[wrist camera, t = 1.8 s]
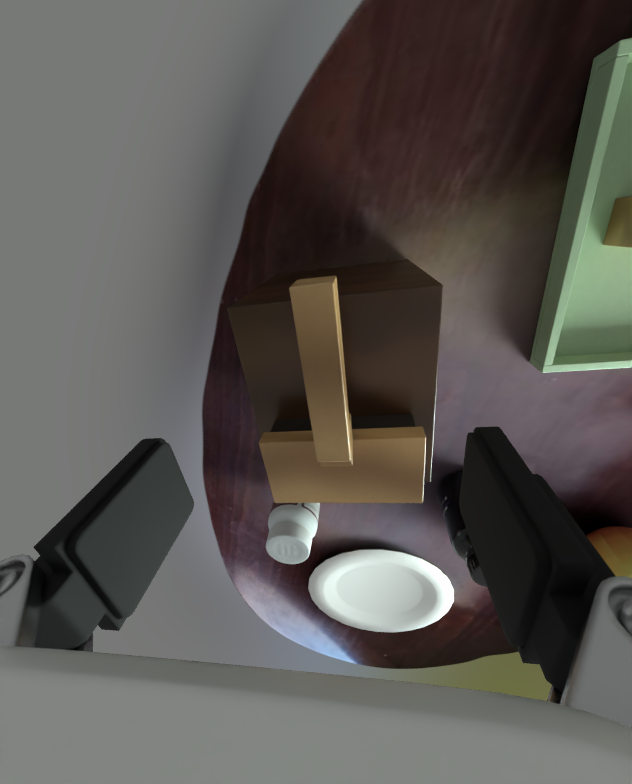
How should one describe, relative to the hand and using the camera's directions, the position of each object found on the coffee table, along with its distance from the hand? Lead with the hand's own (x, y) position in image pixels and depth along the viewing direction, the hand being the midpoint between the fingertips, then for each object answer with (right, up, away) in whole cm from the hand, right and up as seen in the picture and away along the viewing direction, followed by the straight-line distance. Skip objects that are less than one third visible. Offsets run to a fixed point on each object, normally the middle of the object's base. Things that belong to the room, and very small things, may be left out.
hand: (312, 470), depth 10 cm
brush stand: (+3, +8, +24) cm, 26 cm away
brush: (+2, +3, +11) cm, 12 cm away
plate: (+11, -32, +46) cm, 57 cm away
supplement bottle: (+20, -11, +33) cm, 40 cm away
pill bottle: (-2, -10, +35) cm, 37 cm away
